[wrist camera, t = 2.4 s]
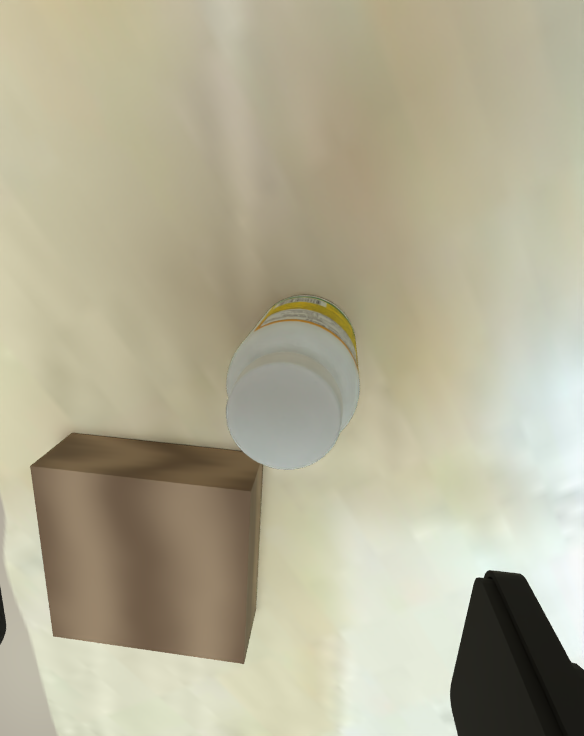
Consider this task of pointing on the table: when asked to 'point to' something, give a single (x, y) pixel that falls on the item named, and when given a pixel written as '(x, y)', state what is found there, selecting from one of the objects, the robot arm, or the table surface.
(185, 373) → the table surface
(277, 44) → the table surface
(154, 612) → the walnut stand
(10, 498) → the table surface
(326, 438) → the supplement bottle
